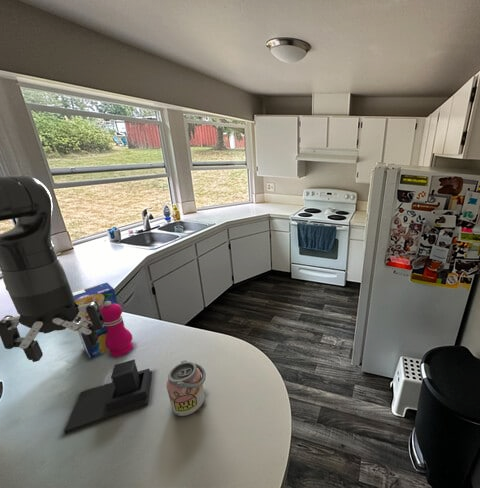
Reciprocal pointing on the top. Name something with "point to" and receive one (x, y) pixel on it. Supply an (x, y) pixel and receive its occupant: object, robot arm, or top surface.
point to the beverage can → (186, 387)
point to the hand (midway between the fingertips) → (66, 352)
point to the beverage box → (84, 297)
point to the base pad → (107, 403)
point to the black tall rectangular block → (126, 378)
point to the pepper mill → (116, 330)
